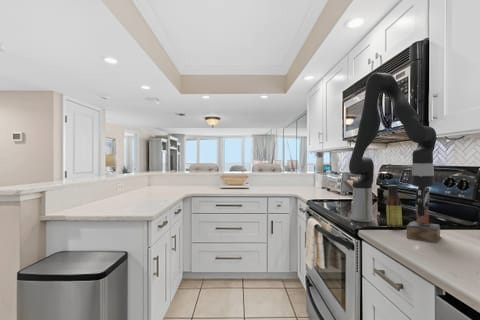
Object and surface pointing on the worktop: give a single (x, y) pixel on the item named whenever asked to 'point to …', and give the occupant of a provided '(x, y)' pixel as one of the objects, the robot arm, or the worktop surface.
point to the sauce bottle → (393, 207)
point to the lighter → (422, 217)
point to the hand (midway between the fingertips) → (423, 213)
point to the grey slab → (423, 232)
